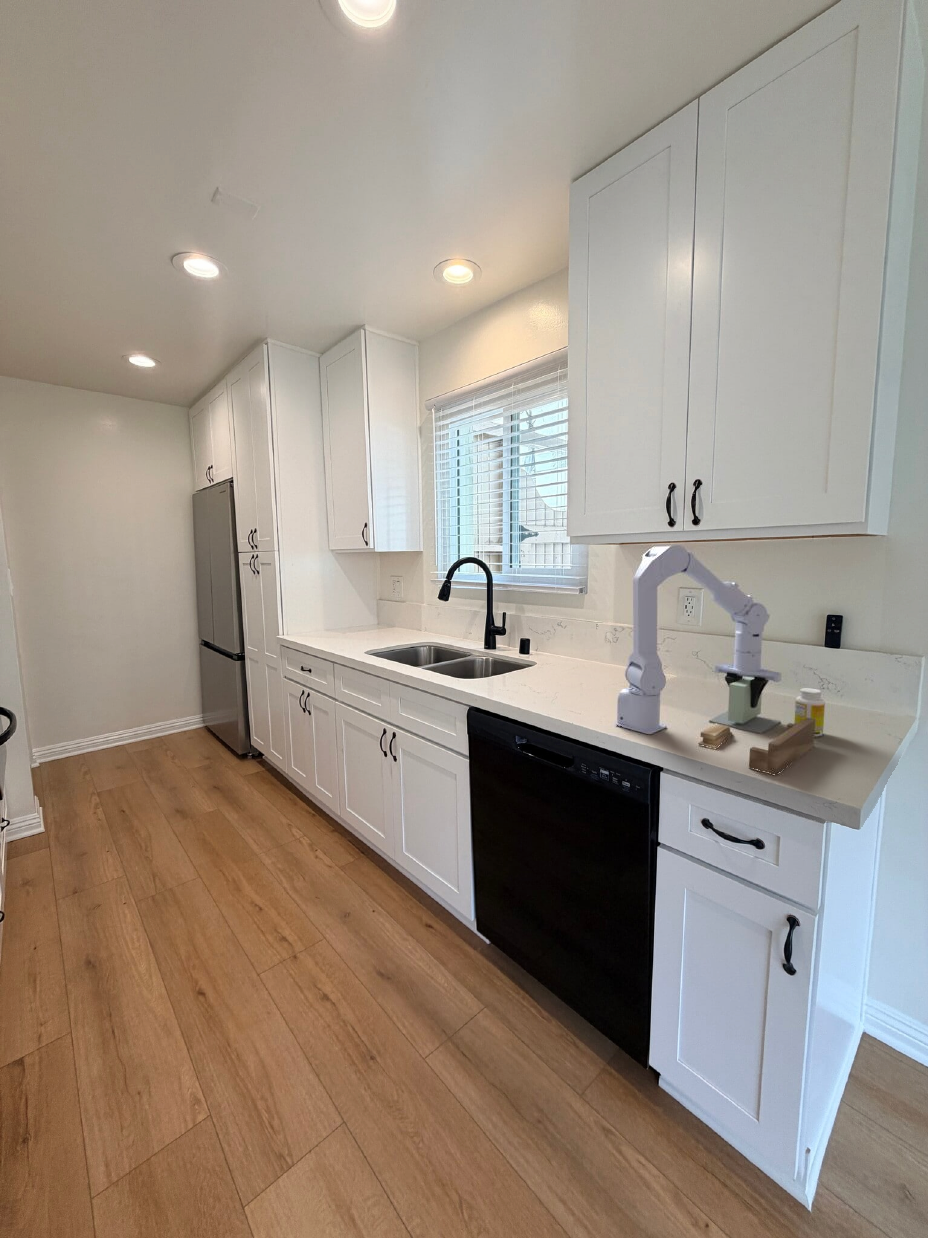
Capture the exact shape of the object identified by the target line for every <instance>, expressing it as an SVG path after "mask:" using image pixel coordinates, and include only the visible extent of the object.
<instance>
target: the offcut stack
mask: <svg viewBox="0 0 928 1238" xmlns="http://www.w3.org/2000/svg"><path fill="white" fill-rule="evenodd" d="M732 735H733V731H731V727H729V726H726V725H721V724H716V723H713V724H712V725H710V726H709V727H707V728H705V729H704V730H702V731H701V732H700V738H702V740H700V741H699V742H698V744H699V745H704V746H708V747H711V748H717V747H718V746H719V745H721V743H723V742H724V741H725V740H726V739H727V738H728V737H729V736H730V737H731V736H732ZM730 737H729V738H730ZM729 738H728V739H729ZM728 739H727V740H728ZM727 740H726V741H727ZM726 741H725V742H726ZM725 742H724V743H725ZM724 743H723V744H724ZM698 744H697V745H698ZM721 746H722V745H721ZM719 747H720V746H719ZM719 747H718V748H719ZM718 748H717V749H718Z"/></svg>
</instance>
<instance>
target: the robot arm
mask: <svg viewBox="0 0 928 1238" xmlns="http://www.w3.org/2000/svg"><path fill="white" fill-rule="evenodd" d="M641 558H642V559H641V562H640V564H639V566H638V568H637V570H636V572H635V574H634V577H633V579H632V585H633V586H632V598H633V599H632V600H633V601H632V604H633V605H632V610H633V612H632V617H633V619H632V620H633V621H632V622H633V624H632V625H633V626H632V628H633V629H632V632H633V635H632V636H633V652H632V653H631V654H630V655H629V657H628V662H627V667H626V668H625V670H624V675H625V676H624V677H625V680H626V682H628V684H629V686H628V687H626V688H622V689H621V690H620V692H619V694H618V696H617V703H616V704H617V707H616V708H617V712H616V713H617V714H616V715H617V717H616V723H615V726H616V725H618V727H620V726H622V727H621V728H624V729H628V730H631V731H635V732H638V733H642V734H646V735H653V734H655V733H656V732H658V731H661V730H664V729H665V728H667V727H668V725H667V724H664V723H661V722H660V721H661V720H660V719H661V692H662V691H663V690H664V689H665V687H666V685H667V682H666V681H667V678H666V674H665V672H664V671H663V662H662V660H661V658H660V656H659V654H658V587H659V586H660V585H661V584H662V583H664V582H665V581H666V580H667V579H668V578H670V577H672V576H674V575H677V574H684V575H687V576H688V577H689V578H691V579H693V580H694V581H695V582H697V583H698V584H699V585H700V586H702V587H703V588H704V589H706V590H707V591H709V592H710V593H711V596H710V597H711V600H712V601H713V602H715V604H716V605H718V606H719V607H720V608H722V609H723V610H724V611H725V612H727V613H728V614H729V615H730V619H731V620H732V621H733V622H735V629H734V630H735V631H734V632H735V635H734V653H733V655H734V657H733V658H734V659H733V664H722V663H716V664H715V665H714V673H715V674H716V673H718V674H726V675H725V676H724V681H725V682H726V684H727V687H729V684H731V683H733V682H736V681H738V680H741V679H743V678H744V677H753V678H754V679H752V680H750V685H751V708H755V707H757V704H758V700H759V698H760V695H761V693H762V694H763V691H764V689H765V687H766V686H767V684H768V683H769V681H773V682H775V683H780V682H781V681H782V675H783V674H782V673H783V672H779V671H773V670H768V669H764V668H761V665H762V664H761V663H762V645H763V633H764V631H765V625H766V624H767V623H768V622H769V619H770V614H769V613H768V610H767V608H766V606H765V605H764V604H762V603H760V602H754V600H753V599H754V598H753V596H751V595H748V594H746V593H745V592H744V591H742V590H741V589H740V588H739V586H740V585H739V584H738V583H737V582H731V581H721V580H720V578H719V577H717V576H716V574H714V573H713V572H712V571H711V570H710V569H708V568H707V567H706V566H705V565H704V564H703V563H702V562H701V561H700V560H699V559H698V558H697V557H696V556H695V554H694V553H692V552H691V551H689V550H687V549H686V548H685V547H684V546H682V545H679V544H673V545H664V546H663V545H655V546H653V547H651V548H650V549H648V550H647V551H646V552H645V553H644V554H643V555H642V557H641Z"/></svg>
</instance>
